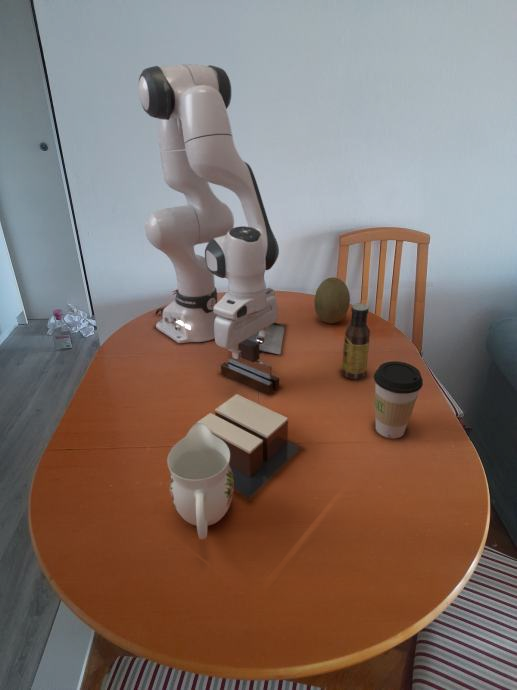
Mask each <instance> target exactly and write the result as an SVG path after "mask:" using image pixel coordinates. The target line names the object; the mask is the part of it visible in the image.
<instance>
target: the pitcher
mask: <svg viewBox="0 0 517 690" xmlns="http://www.w3.org/2000/svg"><path fill="white" fill-rule="evenodd" d="M229 462H230V450H229V448H228V446H227V445H226V443H225V442H224V441H223V440H221V439H220V438H218V437H216V436H215V435H213V434H212V433H211V431H210V430H209V428H208V427H207V426H206V425H205V424H203V423H197V422H196V423H195V424H193V425H192V426H191V427H190V428H189V430H188V432H187V433H186V435H185V436H184V437H183V438H181V439H180V440H179V441H177V442H176V443H175V444H174V445H173V446H172V448H170V451H169V452H168V455H167V462H166V463H167V467H168V469H169V472H170V474H169V480H168V489H169V495H170V499H171V501H172V504H173V506H174V508H175V509H176V510H175V511H176V512H177V513H178V514H179V515H180V517H181V518H182V519H183V520H184V521H185V522H187V523H188V524H190V525H192V526H195V527H196V531H197V535H198V536H197V537H198V539H199V540H206V539H207V538H208V527H209V526H212V525H215V524H216V523H218V522H220V521H221V519H222V518H223V517H224V516H225V515H226V514H227V512H228V510H229V508H230V506H231V503H232V500H233V497H234V490H235V489H234V478H233V473H232V469H231V467H230V465H229Z"/></svg>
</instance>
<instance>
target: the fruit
mask: <svg viewBox="0 0 517 690" xmlns="http://www.w3.org/2000/svg"><path fill="white" fill-rule="evenodd" d="M313 301H314V303H313V305H314V310H315V313H316V316H317V318H318V319H319V320H320V321H322V322H323V323H326V324H330V325H331V324H337V323H339V322H342V320H343V319H344V318H345V317H346V316H347V313H348V311H349V308H350V305H351V304H350V303H351V295H350V291H349V289H348V286H347V284H346V283H345V282H344V281H343V280H342V279H340V278H338V277H328V278H326V279H324V280H323V281H322V282H321V283H320V284H319V285H318V287H317V288H316V291H315V295H314V300H313Z"/></svg>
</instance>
